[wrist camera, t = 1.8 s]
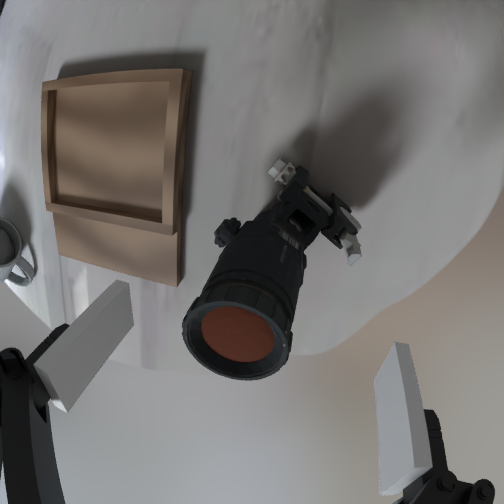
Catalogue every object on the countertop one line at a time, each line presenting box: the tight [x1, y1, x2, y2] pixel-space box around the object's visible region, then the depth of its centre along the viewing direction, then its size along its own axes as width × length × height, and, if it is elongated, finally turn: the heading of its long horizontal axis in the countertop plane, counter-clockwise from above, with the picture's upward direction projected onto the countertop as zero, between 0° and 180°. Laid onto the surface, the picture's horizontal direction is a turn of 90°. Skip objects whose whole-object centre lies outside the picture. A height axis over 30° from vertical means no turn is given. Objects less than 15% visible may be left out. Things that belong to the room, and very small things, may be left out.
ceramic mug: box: [0, 218, 35, 286], centre depth 32 cm, size 11×8×8 cm
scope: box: [182, 158, 362, 380], centre depth 20 cm, size 8×14×10 cm
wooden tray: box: [41, 69, 193, 287], centre depth 26 cm, size 20×16×2 cm
